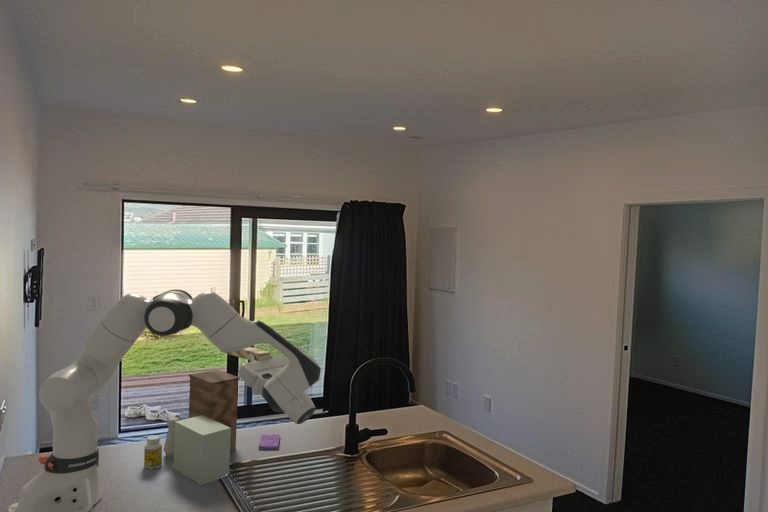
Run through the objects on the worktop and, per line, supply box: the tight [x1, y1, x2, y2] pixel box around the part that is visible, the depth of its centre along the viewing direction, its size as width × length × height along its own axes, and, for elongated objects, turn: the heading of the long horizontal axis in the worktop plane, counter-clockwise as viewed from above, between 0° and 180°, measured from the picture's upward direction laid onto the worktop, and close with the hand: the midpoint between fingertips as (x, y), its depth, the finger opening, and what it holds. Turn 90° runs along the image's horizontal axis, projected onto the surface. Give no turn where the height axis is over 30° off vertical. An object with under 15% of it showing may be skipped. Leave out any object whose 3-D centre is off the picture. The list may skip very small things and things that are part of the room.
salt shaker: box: [163, 416, 181, 459], centre depth 192 cm, size 6×6×13 cm
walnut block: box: [188, 369, 241, 451], centre depth 201 cm, size 12×15×26 cm
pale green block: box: [172, 415, 231, 486], centre depth 180 cm, size 10×17×16 cm, turn 49°
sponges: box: [258, 433, 281, 451], centre depth 208 cm, size 7×13×2 cm, turn 8°
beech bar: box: [219, 346, 271, 361], centre depth 189 cm, size 23×4×3 cm, turn 49°
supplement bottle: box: [143, 434, 163, 469], centre depth 183 cm, size 5×5×10 cm
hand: (257, 354), depth 184 cm, fingers closed on beech bar, 4 cm apart
